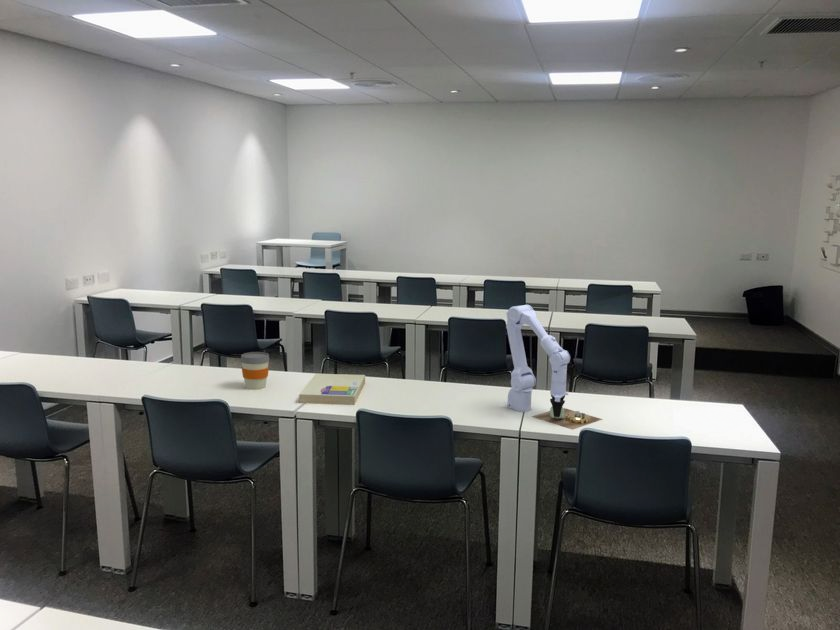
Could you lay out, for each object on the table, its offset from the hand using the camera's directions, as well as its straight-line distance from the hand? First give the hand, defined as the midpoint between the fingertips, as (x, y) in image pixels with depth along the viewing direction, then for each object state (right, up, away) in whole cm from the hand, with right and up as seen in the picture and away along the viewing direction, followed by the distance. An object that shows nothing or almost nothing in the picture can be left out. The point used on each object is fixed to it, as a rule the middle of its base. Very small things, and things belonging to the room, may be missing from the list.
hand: (556, 414), depth 269 cm
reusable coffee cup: (-129, +6, +40) cm, 136 cm away
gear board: (+4, -3, +2) cm, 5 cm away
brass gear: (+8, -2, -1) cm, 8 cm away
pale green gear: (0, -1, 0) cm, 1 cm away
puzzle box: (-93, +4, +34) cm, 99 cm away
